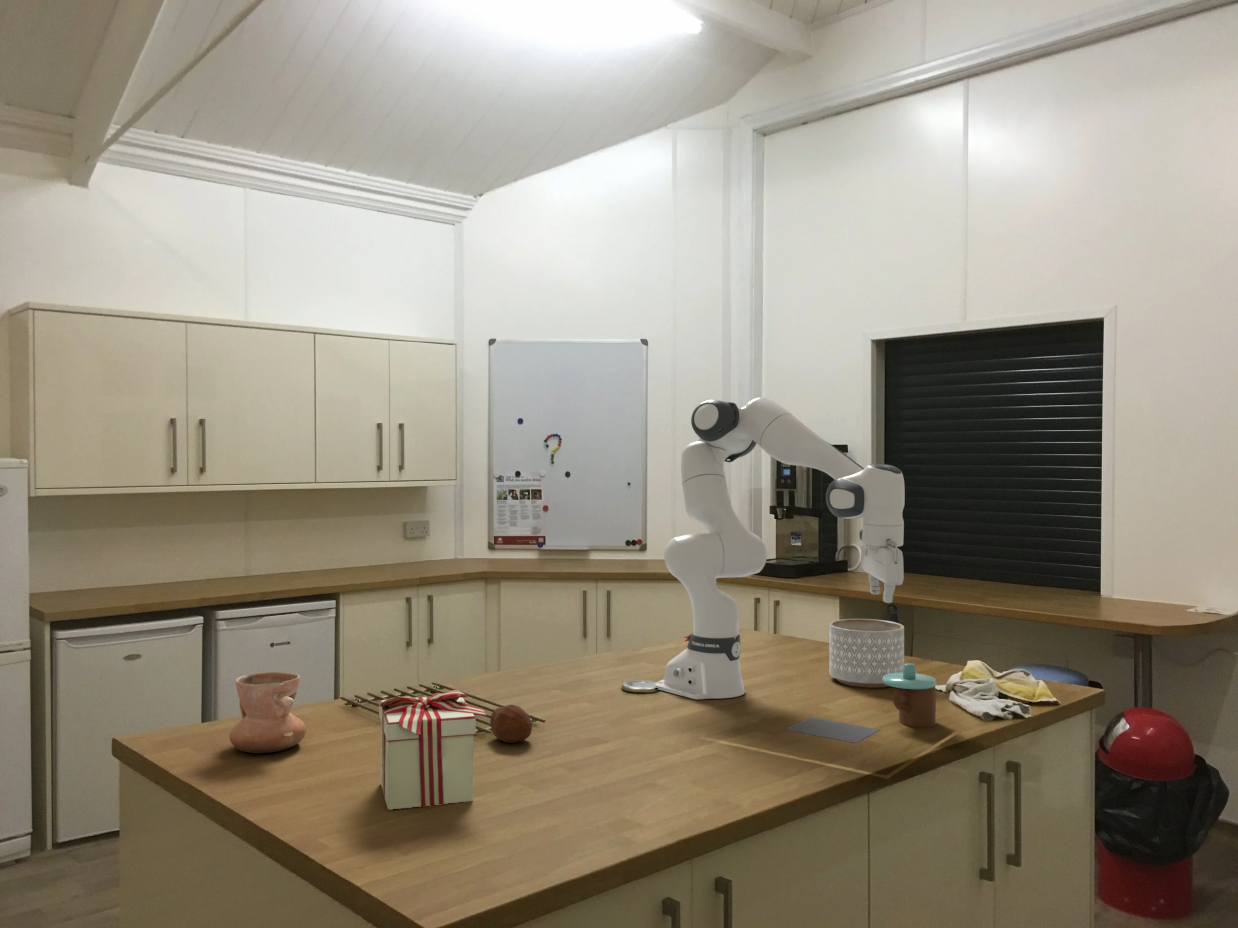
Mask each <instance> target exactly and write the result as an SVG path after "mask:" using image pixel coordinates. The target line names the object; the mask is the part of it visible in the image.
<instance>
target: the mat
mask: <svg viewBox="0 0 1238 928" xmlns="http://www.w3.org/2000/svg"><path fill="white" fill-rule="evenodd" d="M785 730H786V731H790V732H795V733H801V734H806V735H810V736H817V737H820V738H826V739H831V740H836V741H841V742H846V743H847V742H848V743H852V744H858V743H860V742H861V741H864V740H866V739H867V738H869V737H871V736H873V735H874V734H876V733H878V732H879V731H881V729H878V728H874V727H869V726H863V725H858V724H857V725H856V724H852V723H846V722H841V721H835V720H830V719H823V718H820V717H819V718H818V717H814V716H813V717H812V716H811V717H808V718H807V719H805V720H801V721H800V722H798V723H796V724H794V725H791V726H789V727H788V728H785Z"/></svg>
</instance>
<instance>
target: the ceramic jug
mask: <svg viewBox="0 0 1238 928" xmlns="http://www.w3.org/2000/svg"><path fill="white" fill-rule="evenodd" d="M300 679H301V676H300V675H299V674H298V673H292V672H281V671H280V672H279V671H265V672H253V673H248V674H246V675H241V676H238V677H237V678H236V680H235V686H236V692H237V695H238V698H239V709H240V715H241V717H242V719H241V720H240V721H239V722H237V723H236V724H235V725H234V726H233V727H232V728H231V730H230V733H229V735H228V736H229V741H230V743H231V744H232V745H233V747H235V748H236V749H238V750H240V751H242V752H246V753H250V754H252V753H253V754H270V753H276V752H279V751H284V750H287V749H290V748H292V747H294V746H295V745H297V744H298V743H300V742H301V741H302V740H303V739H304V738H305V735H306V734H307V727H306V726H307V725H306V723H304V721H303V720H302V719H301V718H299V717H298V716H295V715H293V714H292V713H291V711H290V710H291V709H292V706H293V704H294V703H295V699H296V695H297V693H298V690H299V686H300Z"/></svg>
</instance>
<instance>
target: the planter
mask: <svg viewBox="0 0 1238 928" xmlns="http://www.w3.org/2000/svg"><path fill="white" fill-rule="evenodd" d="M828 625H829V626H828V627H829V636H828V638H829V640H828V641H829V645H828V646H829V647H828V648H829V649H828V650H829V652H828V653H829V655H828V656H829V661H828V662H829V663H828V664H829V665H828V667H829V672H828V673H829V676H831V678H834V679H836V681H837V682H839V683H841V684H843V685H847V686H851V687H859V688H886V687H890V686H889V685H886V684H884V683H883V676H884V675H886V674H890V673H903V664H904V663H905V626H904V625H903V624H901V623H898V622H895V621H890V620H883V619H882V620H881V619H876V618H875V619H874V618H873V619H872V618H847V619H846V618H845V619H837V620H836V619H835V620H833V621H830V622H829V624H828Z"/></svg>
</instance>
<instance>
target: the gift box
mask: <svg viewBox="0 0 1238 928" xmlns="http://www.w3.org/2000/svg"><path fill="white" fill-rule="evenodd" d="M468 697H469V696H468V694H466V693H464V692H463V691H461V690H458V689H453V690H449V691H447V692H444V693H439V692H436V693H434V694H433V695H431V696H422V697H421V696H418V697H417V696H416V697H413V696H409V695H408V696H400V697H394V698H389V699H383V700H382V699H381V700H379V701H378V702H379V703H378V704H379V705H378V706H379V707H378V709H379V710H378V717H379V720H380V775H379V776H380V778H379V779H380V785H381V790H382V795H383V798H384V800H385V804H386V808H387V810H388V811H394V810H393V809H399V810H402V809H401V808H409V807H419V808H424V807H423V806H429V807H431V806H430V805H438V806H440V805H439V804H447V805H449V804H448V803H456V804H460V803H459V802H464V803H471V802H470V801H472V802H474V745H475V744H474V735H476V733H477V729H476V728H477V723H476V721H477V720H476V716H484V717H485V716H487V714H486V712H485V711H484V709H483V708H481V707H478V706H474V705H470V704H468V703H467V702H466V700H465V699H464V698H468ZM420 806H422V807H420ZM409 809H410V808H409Z"/></svg>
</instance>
